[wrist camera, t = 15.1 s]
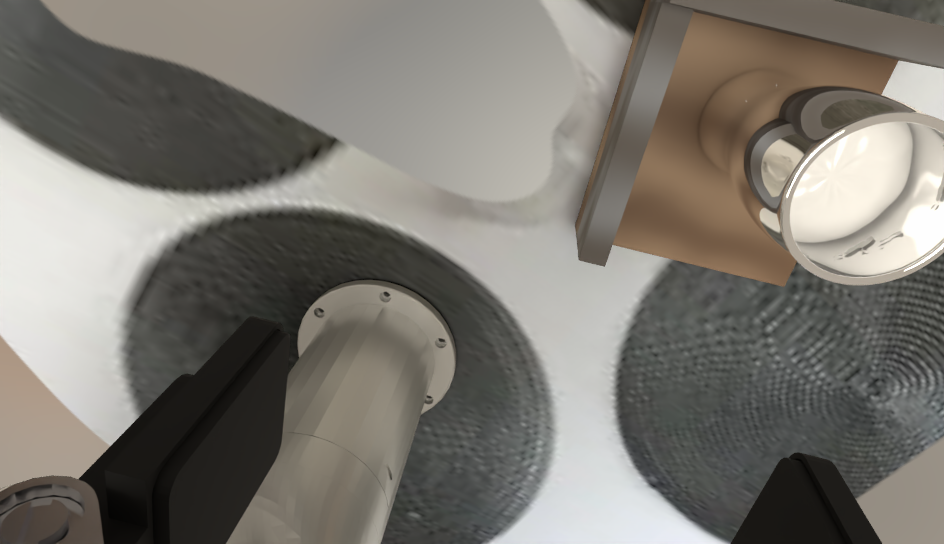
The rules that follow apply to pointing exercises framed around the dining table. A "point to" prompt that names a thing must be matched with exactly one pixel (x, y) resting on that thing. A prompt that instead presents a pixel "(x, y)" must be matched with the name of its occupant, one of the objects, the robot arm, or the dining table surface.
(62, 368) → the dining table surface
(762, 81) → the beer glass
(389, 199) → the dining table surface
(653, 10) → the wooden corner tray
